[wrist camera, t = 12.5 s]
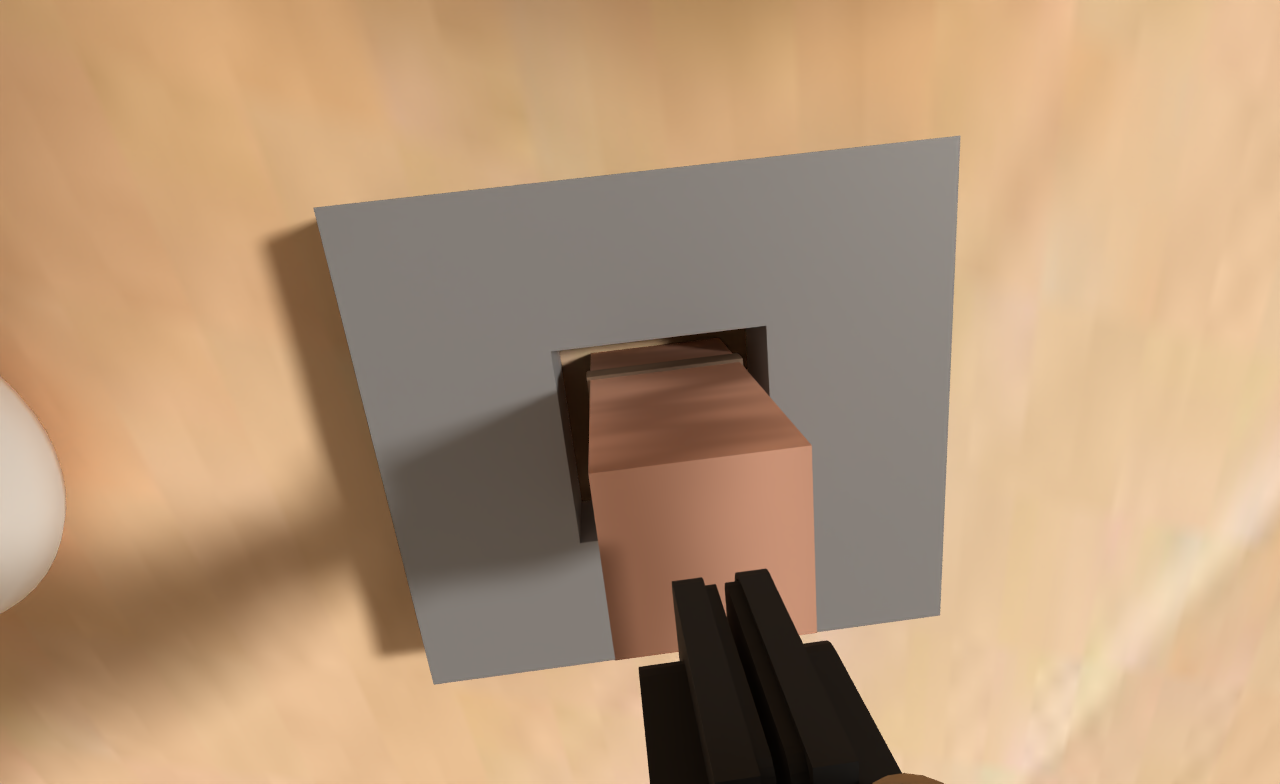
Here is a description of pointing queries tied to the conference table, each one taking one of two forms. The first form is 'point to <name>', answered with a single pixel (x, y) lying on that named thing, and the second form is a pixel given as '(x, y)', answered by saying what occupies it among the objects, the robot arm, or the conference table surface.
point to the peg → (693, 487)
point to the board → (635, 311)
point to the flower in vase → (26, 499)
